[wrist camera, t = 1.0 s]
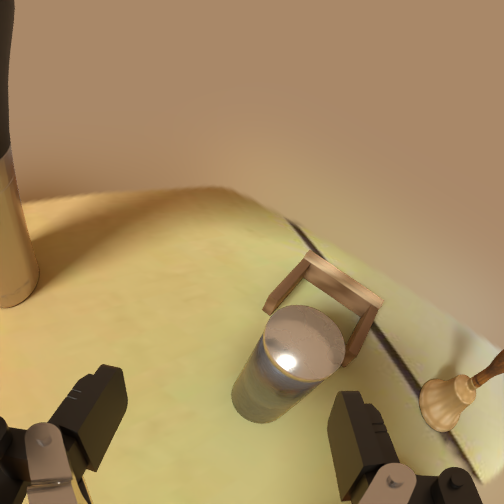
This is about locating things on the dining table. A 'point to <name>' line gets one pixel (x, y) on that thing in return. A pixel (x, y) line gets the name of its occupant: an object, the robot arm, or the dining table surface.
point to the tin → (287, 363)
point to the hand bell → (454, 395)
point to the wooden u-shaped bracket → (338, 289)
